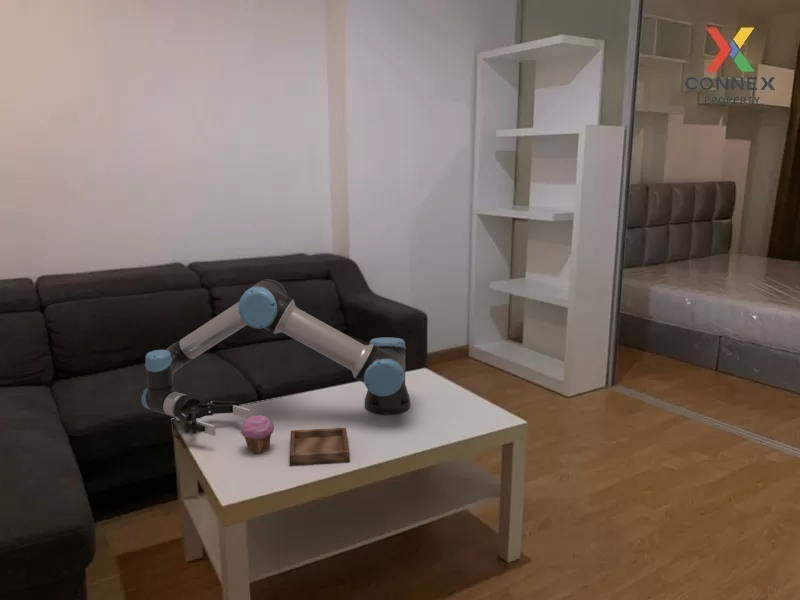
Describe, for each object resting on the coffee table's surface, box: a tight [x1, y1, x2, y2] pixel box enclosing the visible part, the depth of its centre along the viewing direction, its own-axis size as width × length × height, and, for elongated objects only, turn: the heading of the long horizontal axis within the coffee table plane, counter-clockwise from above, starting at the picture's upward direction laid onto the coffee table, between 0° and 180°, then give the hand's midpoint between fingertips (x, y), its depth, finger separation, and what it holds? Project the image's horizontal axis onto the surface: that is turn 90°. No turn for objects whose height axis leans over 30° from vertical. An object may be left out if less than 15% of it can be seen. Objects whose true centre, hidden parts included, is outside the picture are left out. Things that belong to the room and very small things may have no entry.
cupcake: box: [240, 414, 275, 454], centre depth 180 cm, size 9×9×10 cm
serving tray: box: [288, 427, 351, 467], centre depth 180 cm, size 16×16×3 cm
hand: (232, 422), depth 185 cm, fingers open, 13 cm apart
